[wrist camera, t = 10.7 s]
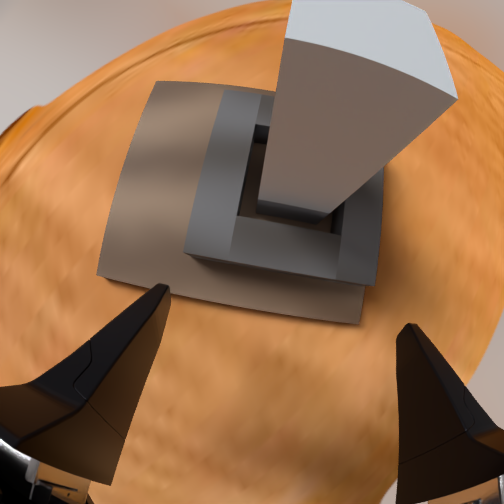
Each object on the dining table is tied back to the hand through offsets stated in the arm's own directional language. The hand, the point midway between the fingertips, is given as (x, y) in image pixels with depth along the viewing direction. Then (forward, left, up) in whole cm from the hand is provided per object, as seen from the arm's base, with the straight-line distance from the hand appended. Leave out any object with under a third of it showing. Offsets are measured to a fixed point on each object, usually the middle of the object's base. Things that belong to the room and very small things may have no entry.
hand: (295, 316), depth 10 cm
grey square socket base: (+8, 0, -9) cm, 12 cm away
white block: (+7, -3, -8) cm, 11 cm away
